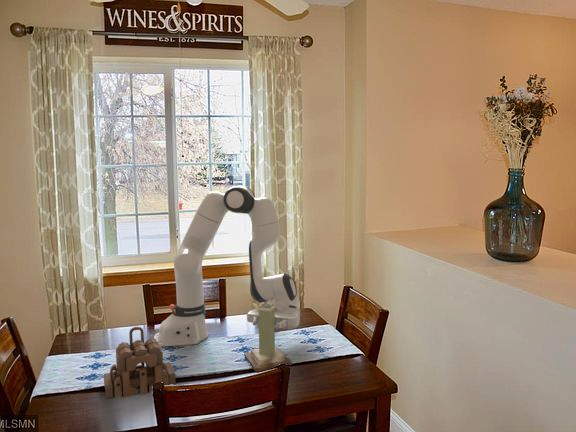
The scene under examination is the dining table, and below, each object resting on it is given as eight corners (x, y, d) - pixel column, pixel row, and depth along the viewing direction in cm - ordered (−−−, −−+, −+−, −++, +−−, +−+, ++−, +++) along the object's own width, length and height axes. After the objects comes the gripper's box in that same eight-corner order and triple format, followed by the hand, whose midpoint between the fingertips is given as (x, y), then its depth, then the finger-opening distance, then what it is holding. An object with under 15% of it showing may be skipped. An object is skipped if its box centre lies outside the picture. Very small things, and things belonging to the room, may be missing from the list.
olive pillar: (259, 354, 183) (258, 307, 180) (263, 349, 187) (263, 303, 184) (270, 355, 181) (270, 308, 179) (274, 350, 185) (274, 304, 183)
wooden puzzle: (106, 401, 155) (103, 345, 153) (103, 382, 168) (100, 329, 166) (176, 388, 164) (174, 334, 162) (168, 370, 177) (166, 320, 175)
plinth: (255, 371, 175) (255, 363, 175) (244, 356, 188) (244, 348, 188) (291, 365, 180) (291, 356, 180) (278, 350, 193) (278, 343, 193)
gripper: (254, 302, 198) (240, 313, 185) (303, 307, 191) (292, 319, 178) (254, 317, 198) (240, 329, 185) (303, 323, 192) (292, 336, 179)
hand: (266, 324), depth 182 cm, fingers open, 8 cm apart
